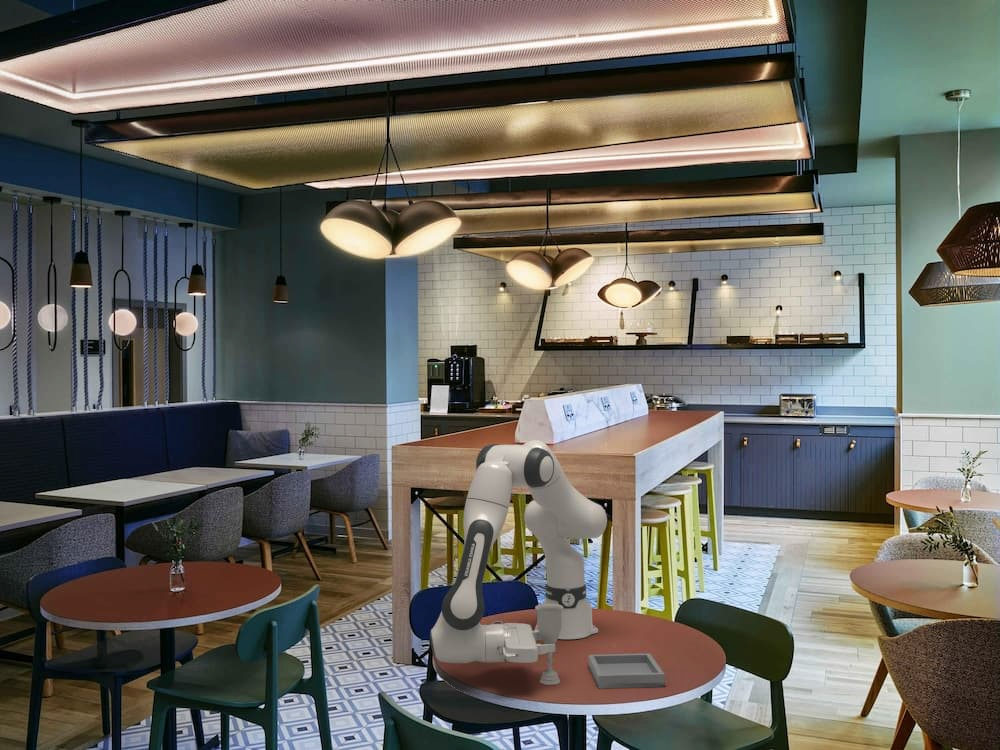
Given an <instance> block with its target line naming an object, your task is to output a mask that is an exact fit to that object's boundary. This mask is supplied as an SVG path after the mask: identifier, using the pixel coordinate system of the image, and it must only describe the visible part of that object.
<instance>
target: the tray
mask: <svg viewBox="0 0 1000 750" xmlns="http://www.w3.org/2000/svg"><path fill="white" fill-rule="evenodd" d="M587 657H588V659H587V660H588V662H587V663H588V664H587V665H588V669H589V670H590V673H591V675H592V677H593V679H594V682H595V683H596V686H597V688H598V689H599V688H600V689H627V688H629V689H630V688H631V689H632V688H633V689H634V688H635V689H636V688H637V689H638V688H665V687H666V676H665V675H666V673H664V671H663V669H662V668H661V667H660V666H659V664H658V663H657V661H656V660H655V659H654V657H653V656H652V654H651V653H650V652H648V653H611V654H609V653H608V654H607V653H606V654H588V655H587Z"/></svg>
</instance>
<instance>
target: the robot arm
mask: <svg viewBox="0 0 1000 750" xmlns="http://www.w3.org/2000/svg"><path fill="white" fill-rule="evenodd" d="M475 467H476V471H475V472H474V475H473V478H472V480H471V483H470V486H469V488H468V489H469V490H468V492H467V495H466V500H465V505H464V509H463V520H462V523H463V524H462V526H463V533H464V534H463V535H464V541H463V542H464V544H463V545H464V546H463V550H462V551H463V552H462V555H461V558H460V564H459V567H458V571H457V576H456V578H455V581H454V583H453V585H452V586H451V587H450V589H449V590H448V591H447V593H446V594H445V596H444V597H443V599H442V603H441V611H440V614H439V616H438V618H437V620H436V623H435V624H434V626H433V627H432V628H431V630H430V633H429V638H430V644H431V651H432V654H433V656H434V657H435V659H436V660H437V661H438V662H441V663H448V664H469V663H472V662H479V663H485V664H486V663H505V660H506V661H507V662H510V663H526V664H527V663H528V664H529V663H531V664H532V663H536V662H538V661H539V660H538V659H539V655H544V654H546V653H548V652H552V653H555V652H556V643H555V644H554V643H548V644H544V643H543V644H541V643H537V642H536V641H542V639H541V636H540V634H539V631H538V628H537V624H536V625H535V627H534V630H533V629H532V625H531V624H527V623H519V622H518V623H517V622H505V623H503V621H501V620H496V621H493V622H492V623H491V624H481V623H480V622H481V621H482V619H483V617H484V614H485V601H484V594H483V583H484V577H485V572H486V568H487V565H488V559H489V555H490V553H491V549H492V548H493V546H494V544H495V542H496V540H497V539H498V538H499V536H500V535H501V532H502V530H503V527H504V525H505V522H506V520H507V516H508V513H509V508H510V503H511V499H512V498H511V497H512V489H513V487H520V488H521V487H522V488H523V487H524V488H525V487H527V489H528V491H529V493H530V494H531V496H532V498H533V500H531V501H530V502H529V503H528V504H527V506H526V508H525V510H524V516H523V520H524V524H525V526H526V529H528V531H529V532H531V533H532V535H534V537H535V538H536V539H537V540H538V542H539V544H540V546H541V548H542V551H543V554H544V557H545V558H544V559H545V566H546V568H545V569H546V583H545V589H544V592H545V593H544V595H545V599H544V602H542V604H559V605H562V606H563V610H562V612H561V614H562V628H561V631H560V634H559V636H558V639H557V640H576V639H577V640H578V639H579V640H580V639H583V638H587V637H590V636H591V635H594V634H598V633H599V629H598V627H596V626H595V625H594V624H593V610H592V604H591V602H590V601H588V600H587V598H586V597H587V585H586V583H585V560H584V558H583V555H582V554H581V553H580V552H579V551H577V550H576V549H574V548H573V547H572V545H571V544H570V542H569V539H575V540H576V539H577V540H578V539H579V540H588V539H590V540H591V539H597V538H599V537H601V536H602V535H603V534H604V532H605V530H606V528H607V525H608V524H607V523H608V517H607V513H606V511H605V509H604V507H603V506H602V505H600V504H598V503H596V502H594V501H592V500H590V499H589V498H587V497H586V496H585V495H583V494H582V493H581V492H580V491H578V490H577V489H576V488H575V487H574V486H573V485H572V484H571V482H570V481H569V480H568V478H567V475H566V474H565V472H564V469H563V468H562V466H561V464H560V462H559V460H558V458H557V457H556V455H555V454H554V452H553V451H552V449H551V448H550V447H549V446H548V444H546V442H544V441H542V440H539V439H531V440H528V441H527V442H525V443H523V444H499V443H493V444H487V445H485V446H483V447H482V448H481V450H480V451H479V452H478V454H477V456H476V461H475Z"/></svg>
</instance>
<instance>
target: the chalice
mask: <svg viewBox="0 0 1000 750" xmlns="http://www.w3.org/2000/svg"><path fill="white" fill-rule="evenodd" d="M534 609H535V611H536V616H537V617H536V618H537V619H536V621H537V622H536V625H537V628H538V631H539V634H540V636H541V639H542V640H541V641H542V642H543V644H548V643H554V644H555V645H556V643H557V641H558V640H559V639H558V636H559V634H560V631H561V628H562V614H561V612H562V610H563V606H562V605H559V604H543V603H542V604H537V605H535V608H534ZM553 653H554V652H548V653H545V654H546V655H547V660H546V661H545V662H546V663H547V668H546V670H544V671H543V672H542V675H541V678H540V679H539V683H541V684H543V685H548V686H549V685H550V686H551V685H557V684H560V683H561V680H560V678H559V675H558V672H557V671H556V670H554V668H553V666H552V665H553V662H554V660H553V658H552V656H553Z"/></svg>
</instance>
